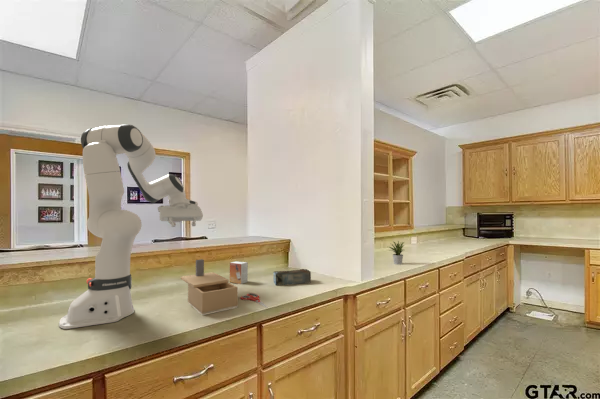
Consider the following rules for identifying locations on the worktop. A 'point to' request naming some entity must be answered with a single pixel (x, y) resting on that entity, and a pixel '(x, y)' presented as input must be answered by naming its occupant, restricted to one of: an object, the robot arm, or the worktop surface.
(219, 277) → the carton lid
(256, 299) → the scissors
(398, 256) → the house plant
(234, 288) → the carton
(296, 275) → the beverage carton
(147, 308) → the worktop surface
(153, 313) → the worktop surface
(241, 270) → the small box
